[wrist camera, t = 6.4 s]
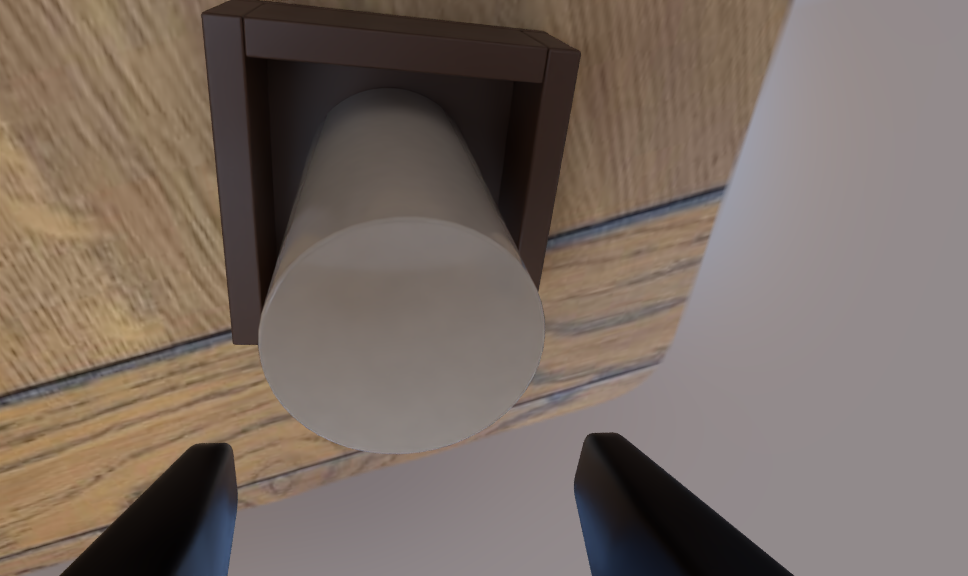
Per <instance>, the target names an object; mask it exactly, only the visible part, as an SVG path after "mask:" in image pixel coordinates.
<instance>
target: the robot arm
mask: <svg viewBox="0 0 968 576" xmlns="http://www.w3.org/2000/svg"><path fill="white" fill-rule="evenodd" d="M574 493H575V499H576V504H577V509H578V513H579V518H580V523H581V527H582V532H583V537H584V541H585V546H586V550H587V555H588V560H589V565H590V569H591V574H592V576H794V575H793V574H792V573H790V572H789V571H788V570H787V569H785V568H784V567H783V566H782V565H780V564H779V563H778V562H777V561H775V560H774V559H773V558H772V557H770V556H769V555H768V554H767V553H766V552H764V551H763V550H762V549H761V548H759V547H758V546H757V545H756V544H755V543H753V542H752V541H751V540H749V539H748V538H747V537H746V536H745V535H743V534H742V533H741V532H740V531H738V530H737V529H736V528H735V527H734V526H732V525H731V524H730V523H729V522H727V521H726V520H725V519H724V518H723V517H721V516H720V515H719V514H718V513H716V512H715V511H714V510H713V509H711V508H710V507H709V506H708V505H706V504H705V503H704V502H703V501H702V500H700V499H699V498H698V497H697V496H695V495H694V494H693V493H692V492H691V491H689V490H688V489H687V488H686V487H684V486H683V485H682V484H681V483H679V482H678V481H677V480H676V479H675V478H673V477H672V476H671V475H670V474H668V473H667V472H666V471H665V470H664V469H662V468H661V467H660V466H658V465H657V464H656V463H655V462H654V461H652V460H651V459H650V458H649V457H648V456H646V455H645V454H644V453H642V452H641V451H640V450H639V449H638V448H636V447H635V446H634V445H633V444H632V443H630V442H629V441H628V440H627V439H625V438H624V437H623V436H621V435H620V434H618V433H613V432H612V433H591V434H589V435H587V437H586V438H585V440H584V443H583V447H582V451H581V455H580V459H579V463H578V466H577V471H576V474H575V480H574ZM237 502H238V493H237V483H236V473H235V464H234V455H233V450H232V447H231V446H230V445H229V444H227V443H199V444H195V445H193V446H191V447H190V448H189V449H188V450H187V451H186V452H184V453H183V454H182V455H181V456H180V457H179V458H178V459H177V460H176V461H175V462H174V463H173V464H172V465H171V466H170V467H169V468H168V469H167V470H166V471H165V472H164V473H163V474H162V475H161V476H160V477H159V478H158V479H157V480H156V481H155V482H154V483H153V484H152V485H151V486H150V487H149V488H148V489H147V490H146V491H145V492H144V493H143V494H142V495H141V496H140V497H139V498H138V499H137V500H136V501H135V502H134V503H133V504H132V505H131V506H130V507H129V508H128V509H127V510H126V511H125V512H124V513H123V514H122V515H121V516H119V517H118V518H117V519H116V520H115V521H114V522H113V523H112V524H111V525H110V526H109V527H108V528H107V529H106V530H105V531H104V532H103V533H102V534H101V535H100V536H99V537H98V538H97V539H96V540H95V541H94V542H93V543H92V544H91V545H90V546H89V547H88V548H87V549H86V550H85V551H84V552H83V553H82V554H81V555H80V556H79V557H78V558H77V559H76V560H75V561H74V562H73V563H72V564H71V565H70V566H69V567H68V568H67V569H66V570H65V571H64V572H63V573H62V574H61V575H60V576H227V574H228V568H229V560H230V554H231V547H232V541H233V534H234V527H235V520H236V513H237Z"/></svg>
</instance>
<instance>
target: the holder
mask: <svg viewBox="0 0 968 576" xmlns="http://www.w3.org/2000/svg"><path fill="white" fill-rule="evenodd" d="M201 18H202V28H203V38H204V49H205V59H206V69H207V80H208V90H209V100H210V111H211V121H212V132H213V142H214V152H215V163H216V173H217V183H218V194H219V204H220V215H221V225H222V235H223V246H224V256H225V266H226V277H227V287H228V297H229V308H230V318H231V329H232V339H233V344H235V345H258V329H259V324H260V318H261V313H262V310H263V306H264V303H265V299H266V296H267V292H268V289H269V285H270V282H271V279H272V275H273V272H274V268H275V265H276V261H277V258H278V254H279V251H280V247H281V244H282V240H283V237H284V233H285V230H286V227H287V223H288V220H289V216H290V213H291V209H292V206H293V202H294V199H295V195H296V192H297V188H298V185H299V182H300V178H301V175H302V171H303V168H304V164H305V161H306V157H307V154H308V150H309V147H310V144H311V141H312V138H313V135H314V133H315V131H316V129H317V127H318V125H319V124H320V123H321V121H322V120H323V118H324V117H325V116H326V115H327V114H328V113H329V112H330V111H331V110H332V109H333V108H334V107H335V106H336V105H338V104H339V103H340V102H342V101H343V100H345V99H347V98H349V97H350V96H353V95H355V94H357V93H360V92H363V91H367V90H371V89H378V88H397V89H404V90H408V91H411V92H415V93H418V94H420V95H422V96H425V97H427V98H429V99H430V100H432V101H433V102H435V103H437V104H438V105H439V106H440V107H442V108H443V109H444V110H445V111H446V112H447V113H448V114H449V115H450V116H451V117H452V118H453V120H454V121H455V122H456V124H457V125H458V126H459V128H460V130H461V132H462V134H463V136H464V138H465V140H466V142H467V144H468V146H469V148H470V150H471V152H472V154H473V156H474V159H475V161H476V163H477V165H478V167H479V169H480V171H481V173H482V175H483V177H484V179H485V182H486V184H487V186H488V188H489V190H490V192H491V194H492V196H493V198H494V200H495V202H496V205H497V207H498V209H499V211H500V213H501V215H502V217H503V219H504V221H505V223H506V225H507V228H508V230H509V232H510V234H511V236H512V238H513V240H514V242H515V244H516V246H517V248H518V251H519V253H520V255H521V257H522V259H523V261H524V263H525V265H526V267H527V269H528V271H529V273H530V276H531V278H532V280H533V282H534V284H535V286H536V288H537V291H539V285H540V279H541V274H542V268H543V263H544V257H545V252H546V246H547V240H548V235H549V229H550V224H551V218H552V213H553V207H554V201H555V196H556V190H557V185H558V179H559V174H560V168H561V162H562V157H563V151H564V146H565V140H566V135H567V129H568V123H569V118H570V112H571V107H572V101H573V96H574V90H575V84H576V79H577V73H578V68H579V62H580V57H581V53H580V51H579V50H577V49H575V48H573V47H571V46H569V45H568V44H566V43H564V42H562V41H560V40H558V39H556V38H554V37H553V36H551V35H549V34H548V33H546V32H544V31H537V30H528V29H519V28H509V27H500V26H491V25H482V24H472V23H463V22H454V21H445V20H435V19H426V18H417V17H407V16H398V15H389V14H380V13H370V12H361V11H352V10H343V9H333V8H324V7H315V6H305V5H296V4H287V3H278V2H268V1H259V0H229V1H227V2H225V3H223V4H220V5H218V6H216V7H213V8H211V9H209V10H207V11H204V12H202V14H201Z"/></svg>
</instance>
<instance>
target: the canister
mask: <svg viewBox="0 0 968 576" xmlns="http://www.w3.org/2000/svg"><path fill="white" fill-rule="evenodd" d="M544 339H545V317H544V311H543V306H542V302H541V299H540V296H539V294H538V291H537V288H536V286H535V284H534V282H533V280H532V278H531V276H530V273H529V271H528V269H527V267H526V265H525V263H524V261H523V259H522V257H521V255H520V253H519V251H518V248H517V246H516V244H515V242H514V240H513V238H512V236H511V234H510V232H509V230H508V228H507V225H506V223H505V221H504V219H503V217H502V215H501V213H500V211H499V209H498V207H497V205H496V202H495V200H494V198H493V196H492V194H491V192H490V190H489V188H488V186H487V184H486V182H485V179H484V177H483V175H482V173H481V171H480V169H479V167H478V165H477V163H476V161H475V159H474V156H473V154H472V152H471V150H470V148H469V146H468V144H467V142H466V140H465V138H464V136H463V134H462V132H461V130H460V128H459V126H458V125H457V124H456V122H455V121H454V120H453V118H452V117H451V116H450V115H449V114H448V113H447V112H446V111H445V110H444V109H443V108H442V107H440V106H439V105H438V104H437V103H435V102H433V101H432V100H430V99H429V98H427V97H425V96H422V95H420V94H418V93H415V92H411V91H408V90H404V89H397V88H378V89H371V90H367V91H363V92H360V93H357V94H355V95H353V96H350V97H349V98H347V99H345V100H343V101H342V102H340V103H339V104H338V105H336V106H335V107H334V108H333V109H332V110H331V111H330V112H329V113H328V114H327V115H326V116H325V117H324V118H323V120H322V121H321V123H320V124H319V125H318V127H317V129H316V131H315V133H314V135H313V138H312V141H311V144H310V147H309V150H308V154H307V157H306V161H305V164H304V168H303V171H302V175H301V178H300V182H299V185H298V188H297V192H296V195H295V199H294V202H293V206H292V209H291V213H290V216H289V220H288V223H287V227H286V230H285V233H284V237H283V240H282V244H281V247H280V251H279V254H278V258H277V261H276V265H275V268H274V272H273V275H272V279H271V282H270V285H269V289H268V292H267V296H266V299H265V303H264V306H263V310H262V313H261V318H260V324H259V329H258V349H259V356H260V362H261V365H262V368H263V371H264V375H265V378H266V380H267V381H268V383H269V385H270V387H271V389H272V391H273V393H274V395H275V396H276V397H277V399H278V400H279V402H280V403H281V404H282V406H283V407H284V408H285V409H286V410H287V411H288V412H289V413H290V414H291V415H292V416H293V417H294V418H295V419H296V420H297V421H299V422H300V423H301V424H302V425H304V426H305V427H306V428H308V429H309V430H311V431H313V432H314V433H316V434H318V435H319V436H321V437H323V438H325V439H327V440H330V441H332V442H334V443H336V444H339V445H342V446H345V447H348V448H352V449H356V450H361V451H365V452H372V453H381V454H408V453H419V452H425V451H430V450H435V449H439V448H442V447H446V446H449V445H452V444H455V443H457V442H460V441H462V440H465V439H467V438H469V437H471V436H473V435H475V434H477V433H479V432H481V431H482V430H484V429H485V428H487V427H488V426H490V425H491V424H493V423H494V422H495V421H497V420H498V419H499V418H500V417H502V416H503V415H504V414H505V413H506V412H507V411H508V410H509V409H510V408H511V407H512V406H513V405H514V404H515V403H516V402H517V401H518V400H519V398H520V397H521V396H522V395H523V393H524V392H525V391H526V389H527V387H528V386H529V384H530V382H531V381H532V379H533V377H534V375H535V372H536V370H537V368H538V365H539V363H540V359H541V355H542V352H543V348H544Z"/></svg>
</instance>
